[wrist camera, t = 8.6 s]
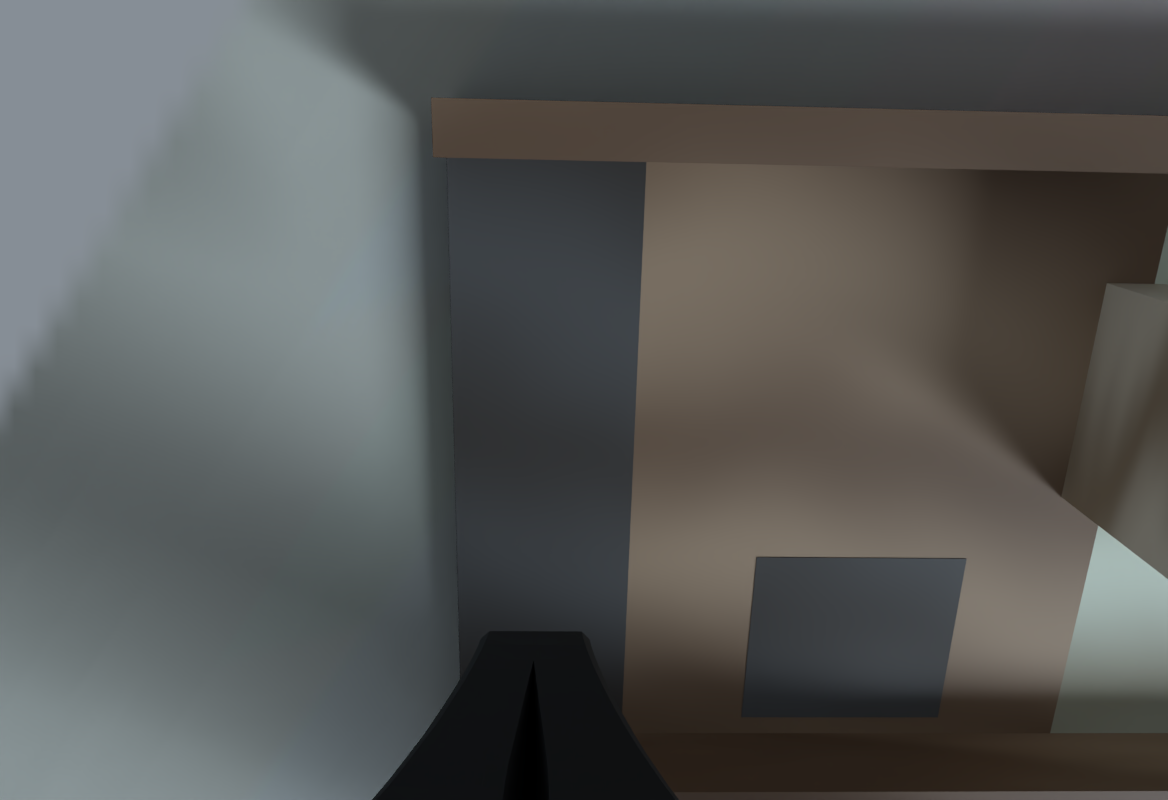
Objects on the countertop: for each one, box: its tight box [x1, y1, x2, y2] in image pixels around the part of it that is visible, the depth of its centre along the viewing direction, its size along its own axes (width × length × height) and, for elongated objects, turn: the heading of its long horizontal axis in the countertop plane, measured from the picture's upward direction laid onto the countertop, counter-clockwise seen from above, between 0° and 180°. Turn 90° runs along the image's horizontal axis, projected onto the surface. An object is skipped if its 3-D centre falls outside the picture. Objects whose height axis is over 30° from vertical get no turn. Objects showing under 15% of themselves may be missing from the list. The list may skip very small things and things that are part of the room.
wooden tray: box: [431, 98, 1168, 800], centre depth 19 cm, size 16×23×3 cm
